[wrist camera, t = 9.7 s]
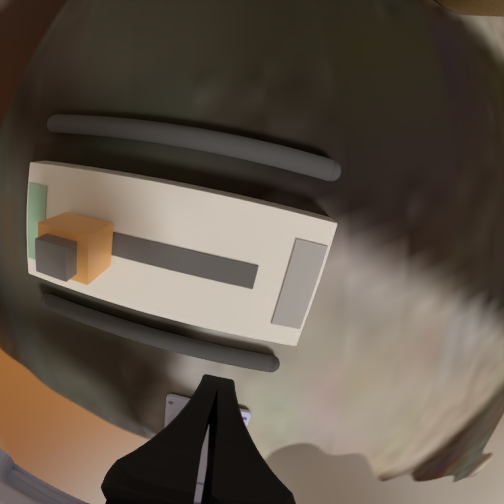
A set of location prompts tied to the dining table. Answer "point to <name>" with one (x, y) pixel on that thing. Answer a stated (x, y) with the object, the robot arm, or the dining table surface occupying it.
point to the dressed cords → (196, 141)
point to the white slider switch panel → (190, 249)
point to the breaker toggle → (73, 247)
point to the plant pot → (475, 7)
